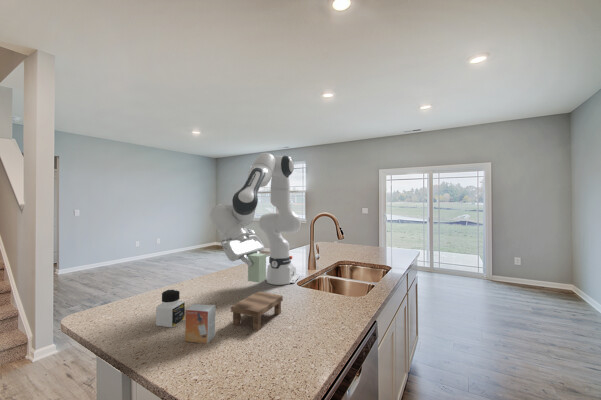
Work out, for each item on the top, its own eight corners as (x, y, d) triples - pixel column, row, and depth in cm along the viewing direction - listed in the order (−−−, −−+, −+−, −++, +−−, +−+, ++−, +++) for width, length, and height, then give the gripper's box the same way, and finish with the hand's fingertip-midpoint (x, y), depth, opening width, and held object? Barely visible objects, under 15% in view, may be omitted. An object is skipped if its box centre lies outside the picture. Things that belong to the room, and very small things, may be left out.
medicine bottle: (172, 327, 97) (172, 294, 97) (155, 325, 98) (155, 293, 98) (184, 319, 104) (185, 288, 104) (168, 317, 105) (169, 287, 105)
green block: (255, 277, 108) (255, 252, 108) (265, 279, 106) (266, 254, 106) (247, 280, 104) (248, 255, 104) (258, 282, 102) (259, 256, 102)
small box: (184, 342, 87) (184, 309, 87) (193, 333, 93) (193, 303, 93) (207, 344, 86) (207, 311, 86) (215, 335, 92) (215, 304, 92)
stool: (258, 307, 115) (258, 291, 115) (282, 312, 110) (282, 295, 110) (230, 325, 99) (231, 306, 99) (258, 331, 94) (258, 312, 94)
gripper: (223, 234, 99) (245, 264, 95) (255, 229, 118) (274, 253, 113) (214, 246, 101) (234, 275, 97) (246, 239, 119) (265, 263, 115)
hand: (256, 263), depth 105 cm, fingers closed on green block, 5 cm apart
